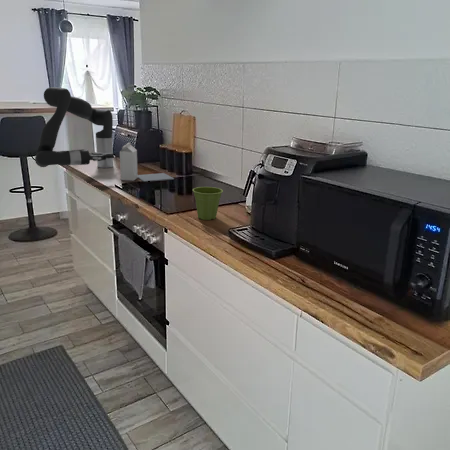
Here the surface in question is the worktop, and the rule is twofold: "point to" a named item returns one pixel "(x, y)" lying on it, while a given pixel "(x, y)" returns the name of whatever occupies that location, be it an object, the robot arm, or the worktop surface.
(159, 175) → the mat
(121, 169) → the milk carton
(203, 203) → the plant pot
